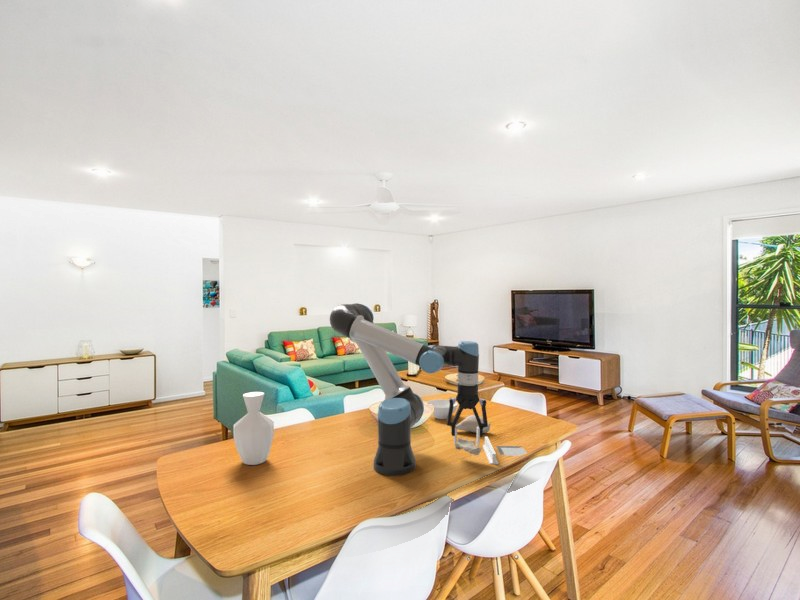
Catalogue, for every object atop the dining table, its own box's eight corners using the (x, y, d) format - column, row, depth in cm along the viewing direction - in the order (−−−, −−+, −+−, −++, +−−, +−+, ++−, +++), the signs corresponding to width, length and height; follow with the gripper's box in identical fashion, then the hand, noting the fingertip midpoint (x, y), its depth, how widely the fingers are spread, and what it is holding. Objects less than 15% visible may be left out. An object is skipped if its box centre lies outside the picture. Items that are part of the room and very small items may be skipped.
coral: (477, 456, 140) (478, 443, 141) (451, 449, 146) (453, 436, 147) (484, 455, 144) (485, 443, 145) (458, 448, 151) (460, 436, 152)
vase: (281, 455, 153) (280, 390, 153) (258, 470, 139) (258, 400, 139) (249, 451, 157) (249, 388, 156) (224, 466, 143) (224, 397, 143)
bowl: (441, 410, 212) (441, 397, 212) (464, 417, 200) (464, 403, 200) (419, 416, 202) (419, 402, 202) (442, 424, 190) (442, 409, 189)
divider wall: (490, 464, 143) (490, 453, 143) (482, 446, 161) (482, 436, 161) (498, 464, 143) (498, 453, 143) (489, 446, 161) (489, 436, 161)
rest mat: (502, 458, 149) (502, 457, 149) (496, 446, 161) (496, 445, 161) (534, 458, 148) (534, 458, 148) (526, 446, 160) (526, 446, 160)
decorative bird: (490, 434, 171) (491, 417, 173) (453, 428, 174) (455, 410, 176) (488, 435, 179) (490, 418, 181) (453, 429, 182) (455, 412, 184)
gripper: (440, 384, 143) (439, 447, 143) (497, 386, 142) (496, 449, 142) (439, 380, 151) (438, 440, 151) (493, 382, 150) (492, 442, 150)
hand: (466, 444), depth 147 cm, fingers closed on coral, 8 cm apart
